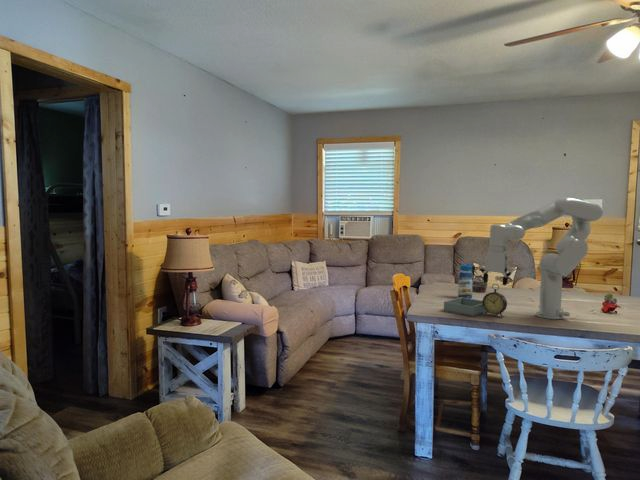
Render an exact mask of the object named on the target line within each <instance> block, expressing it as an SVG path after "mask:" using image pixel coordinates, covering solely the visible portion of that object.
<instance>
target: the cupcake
mask: <svg viewBox="0 0 640 480" xmlns="http://www.w3.org/2000/svg"><path fill="white" fill-rule="evenodd" d="M487 288H488V282H484V280H483V276H480V275H479V276H476V278H475V279H473V285H472V293H479V294H483V293H485V294H486V292H487Z"/></svg>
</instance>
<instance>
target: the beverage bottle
mask: <svg viewBox="0 0 640 480" xmlns="http://www.w3.org/2000/svg"><path fill="white" fill-rule="evenodd" d="M459 271H460V273H459V274H458V279H457V282H458V289H457V298H460V297H463V298H469V299H473V289H472V285H473V281H474V275H473V274H472V271H473V265H470V264H460V266H459Z"/></svg>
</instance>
